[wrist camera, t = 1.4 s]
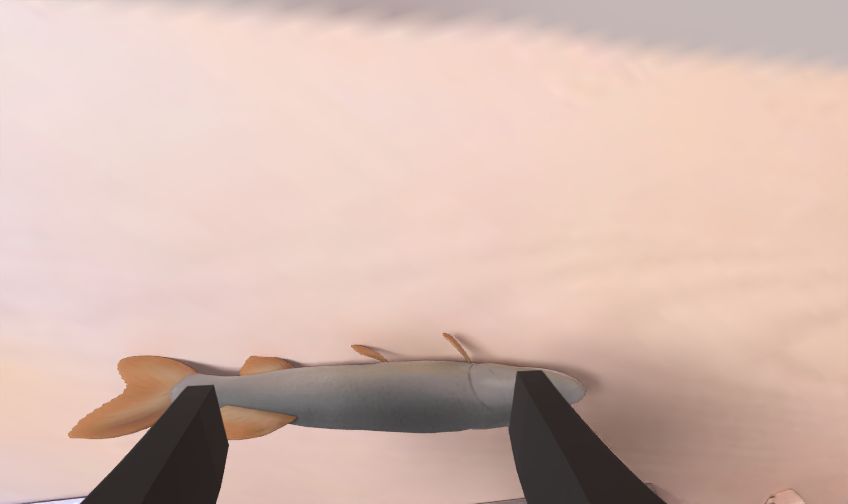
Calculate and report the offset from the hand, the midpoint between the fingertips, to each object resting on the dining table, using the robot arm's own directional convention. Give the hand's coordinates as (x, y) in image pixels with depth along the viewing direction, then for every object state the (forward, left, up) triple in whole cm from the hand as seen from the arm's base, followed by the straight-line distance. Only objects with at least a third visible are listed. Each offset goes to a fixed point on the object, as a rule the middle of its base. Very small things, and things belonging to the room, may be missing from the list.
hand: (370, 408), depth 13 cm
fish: (-1, -7, -10) cm, 13 cm away
